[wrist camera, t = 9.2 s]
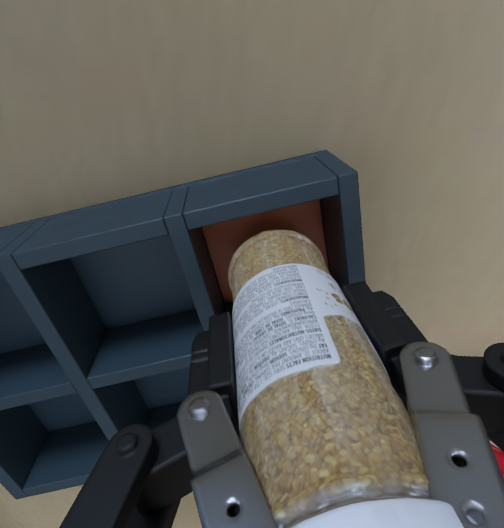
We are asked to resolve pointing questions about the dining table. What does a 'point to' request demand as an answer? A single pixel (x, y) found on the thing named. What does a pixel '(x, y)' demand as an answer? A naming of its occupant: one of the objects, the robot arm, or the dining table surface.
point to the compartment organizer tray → (139, 304)
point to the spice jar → (319, 399)
